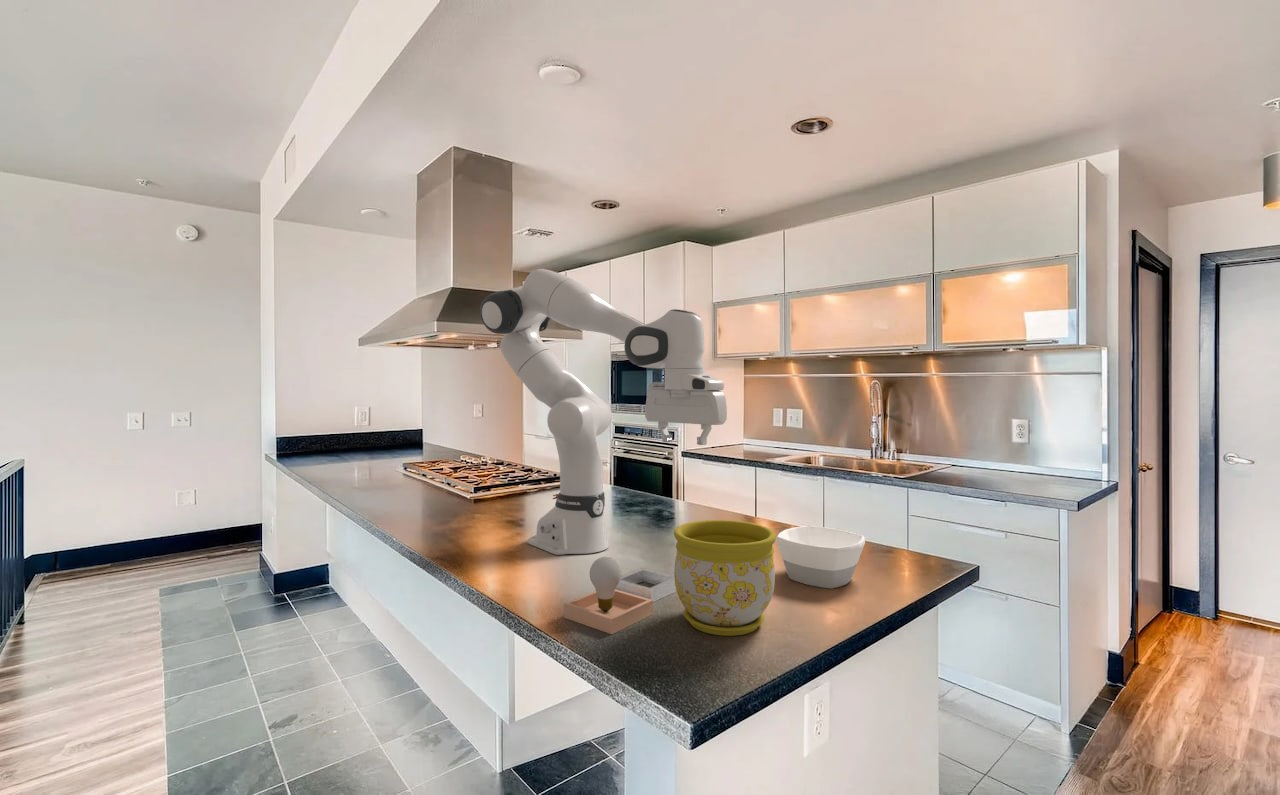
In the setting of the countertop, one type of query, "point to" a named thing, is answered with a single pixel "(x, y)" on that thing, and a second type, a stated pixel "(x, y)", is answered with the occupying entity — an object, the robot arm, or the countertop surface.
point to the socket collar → (661, 580)
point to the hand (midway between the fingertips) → (684, 443)
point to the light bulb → (605, 580)
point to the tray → (614, 620)
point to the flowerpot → (724, 574)
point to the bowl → (820, 555)
